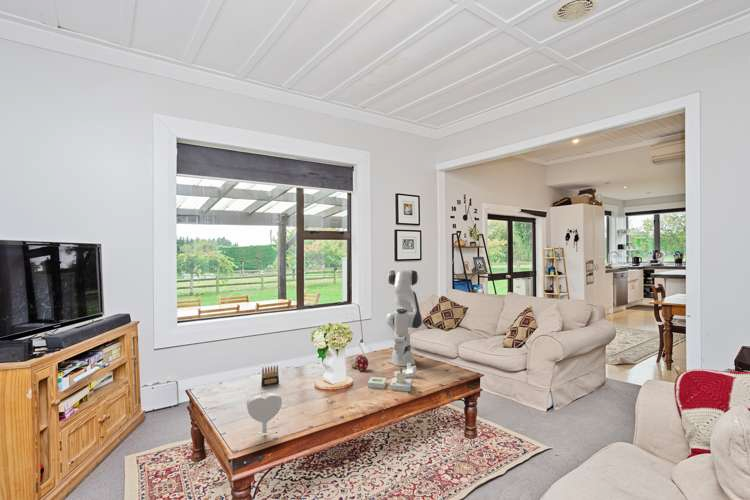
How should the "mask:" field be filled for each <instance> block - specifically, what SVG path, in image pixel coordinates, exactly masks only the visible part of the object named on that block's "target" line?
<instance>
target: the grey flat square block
mask: <svg viewBox="0 0 750 500" xmlns="http://www.w3.org/2000/svg"><path fill="white" fill-rule="evenodd" d="M386 385H387V377H378V376H377V377H376V376H370V377H369V380H368V382H367V388H370V389H381V390H384V389H385V387H386Z"/></svg>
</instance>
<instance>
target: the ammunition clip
mask: <svg viewBox="0 0 750 500" xmlns="http://www.w3.org/2000/svg"><path fill="white" fill-rule="evenodd" d="M279 375H280V374H279V365H278V364H276V366H275V365H273V366H272V365H270V366H268V367H267V366H265V368H264V367H262V369H261V383H260V384H261V387H262V386H263V387H268V386H275V385H279V384H280V379H279Z"/></svg>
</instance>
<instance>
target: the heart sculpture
mask: <svg viewBox="0 0 750 500" xmlns="http://www.w3.org/2000/svg"><path fill="white" fill-rule="evenodd" d="M282 404H283V401H282V397H281V395H280V394H278V393H275V392H269V393H266V394H265V395H262V394H258V395H257V394H256V395H253V396H252V397H250V398H249V399H247V401H246V409H247V412H248V414H249V416H250V417H251V418H252V419H253V420H255V421H257V422H260V423H261V424H262V426H261V427H262V430H261V432H260V431H257V432H258V434H262V433H268V432H272V430H270V429H268V427H267V426H268V424H267V423H268V422H270V421H271V420H272V419H273V418H275V416H277V415H278V413H279V411H280V410H281V407H282Z"/></svg>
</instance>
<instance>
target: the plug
mask: <svg viewBox="0 0 750 500" xmlns="http://www.w3.org/2000/svg"><path fill="white" fill-rule="evenodd" d="M402 370H403V368H401V367H400V368H399V370H398V371H396V372H397V377H396V378H397V383H403V384H405V379H406V378H405V372H402Z"/></svg>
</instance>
